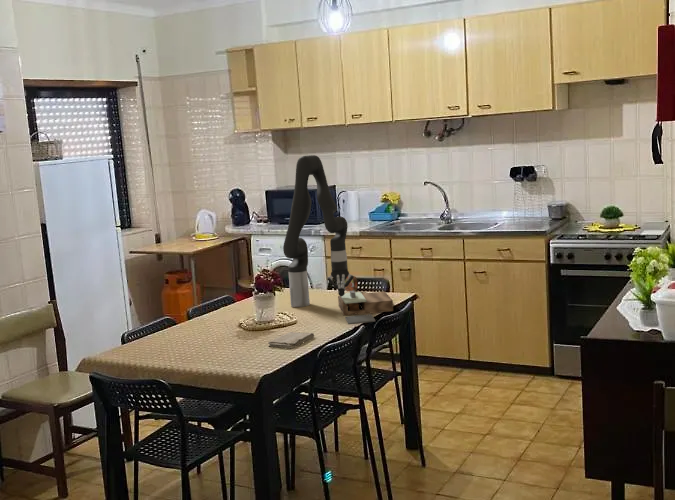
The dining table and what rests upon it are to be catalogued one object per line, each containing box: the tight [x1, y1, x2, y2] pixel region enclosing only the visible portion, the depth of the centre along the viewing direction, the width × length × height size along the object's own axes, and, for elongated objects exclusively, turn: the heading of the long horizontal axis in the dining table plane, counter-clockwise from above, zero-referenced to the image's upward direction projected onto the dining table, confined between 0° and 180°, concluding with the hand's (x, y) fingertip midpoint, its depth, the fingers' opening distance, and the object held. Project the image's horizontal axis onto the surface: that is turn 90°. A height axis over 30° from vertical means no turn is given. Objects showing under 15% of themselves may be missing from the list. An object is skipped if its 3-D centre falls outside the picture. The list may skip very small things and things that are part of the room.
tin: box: [344, 275, 358, 293], centre depth 406 cm, size 15×3×8 cm, turn 25°
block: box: [348, 302, 360, 311], centre depth 362 cm, size 4×4×4 cm
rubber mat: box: [344, 313, 376, 325], centre depth 342 cm, size 12×12×1 cm
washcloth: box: [268, 331, 315, 350], centre depth 313 cm, size 12×18×3 cm, turn 151°
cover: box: [341, 291, 366, 304], centre depth 362 cm, size 10×19×3 cm, turn 6°
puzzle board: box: [337, 291, 394, 317], centre depth 363 cm, size 23×21×5 cm
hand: (341, 295), depth 361 cm, fingers closed
